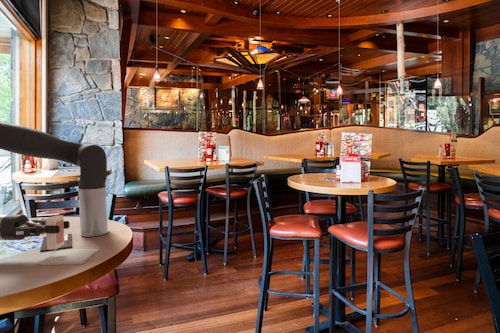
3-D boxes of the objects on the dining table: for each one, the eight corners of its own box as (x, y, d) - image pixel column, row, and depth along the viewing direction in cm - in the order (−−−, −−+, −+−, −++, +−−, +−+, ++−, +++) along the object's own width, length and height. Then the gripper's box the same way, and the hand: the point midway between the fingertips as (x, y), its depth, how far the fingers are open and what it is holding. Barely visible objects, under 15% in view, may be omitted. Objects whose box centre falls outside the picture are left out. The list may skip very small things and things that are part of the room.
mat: (61, 251, 115) (61, 249, 115) (99, 250, 115) (99, 249, 115) (39, 264, 103) (39, 262, 103) (82, 264, 103) (81, 262, 103)
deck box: (56, 244, 111) (55, 215, 110) (64, 244, 111) (63, 215, 110) (47, 249, 106) (45, 219, 105) (56, 249, 106) (54, 219, 105)
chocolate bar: (40, 250, 115) (43, 236, 131) (40, 253, 115) (43, 239, 131) (72, 246, 119) (71, 233, 135) (72, 249, 119) (71, 236, 135)
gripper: (-12, 220, 101) (50, 219, 101) (21, 210, 115) (75, 209, 115) (-10, 246, 101) (51, 246, 101) (22, 233, 116) (76, 233, 115)
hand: (64, 227), depth 108 cm, fingers closed on deck box, 5 cm apart
